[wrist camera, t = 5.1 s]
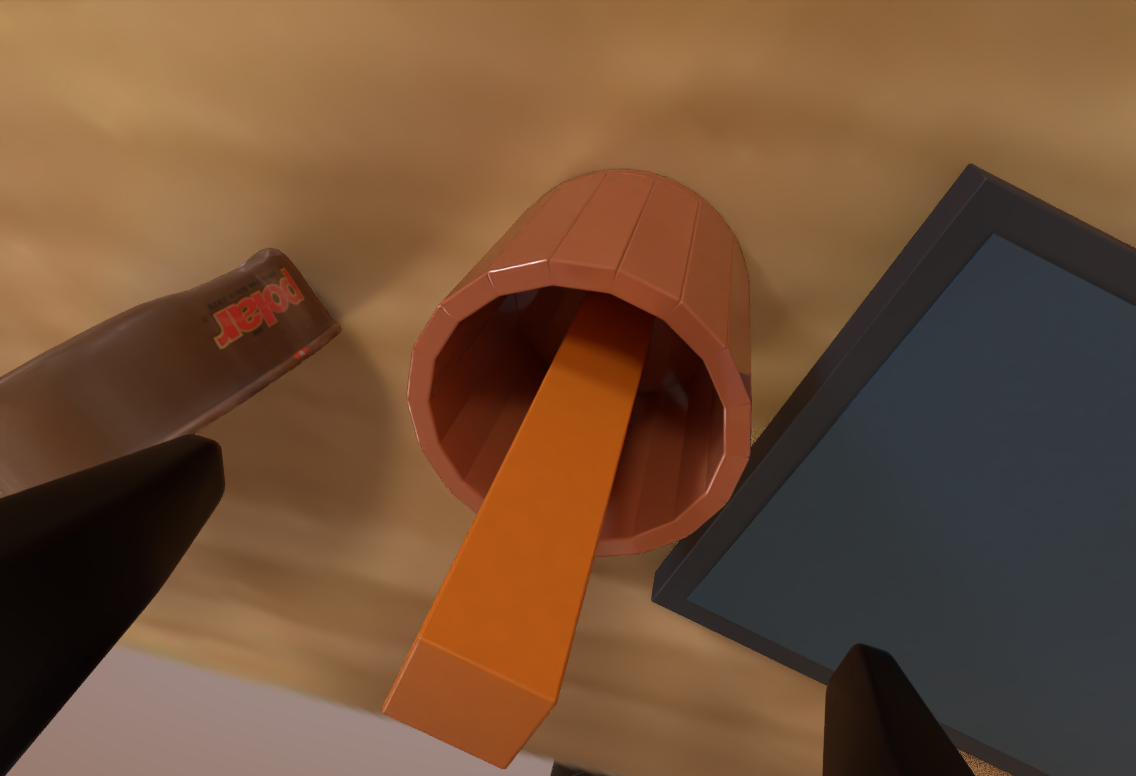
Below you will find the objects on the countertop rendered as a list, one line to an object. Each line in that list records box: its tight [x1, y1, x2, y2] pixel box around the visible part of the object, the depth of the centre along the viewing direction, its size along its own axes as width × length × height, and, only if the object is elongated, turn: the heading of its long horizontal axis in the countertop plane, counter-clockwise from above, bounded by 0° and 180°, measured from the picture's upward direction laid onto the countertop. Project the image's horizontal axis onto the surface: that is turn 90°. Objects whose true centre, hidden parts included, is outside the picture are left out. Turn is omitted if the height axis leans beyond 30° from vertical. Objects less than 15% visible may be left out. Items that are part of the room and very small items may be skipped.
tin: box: [0, 248, 341, 498], centre depth 17 cm, size 15×3×8 cm, turn 120°
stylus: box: [382, 291, 656, 769], centre depth 12 cm, size 2×2×11 cm
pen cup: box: [407, 169, 752, 557], centre depth 15 cm, size 6×6×6 cm
